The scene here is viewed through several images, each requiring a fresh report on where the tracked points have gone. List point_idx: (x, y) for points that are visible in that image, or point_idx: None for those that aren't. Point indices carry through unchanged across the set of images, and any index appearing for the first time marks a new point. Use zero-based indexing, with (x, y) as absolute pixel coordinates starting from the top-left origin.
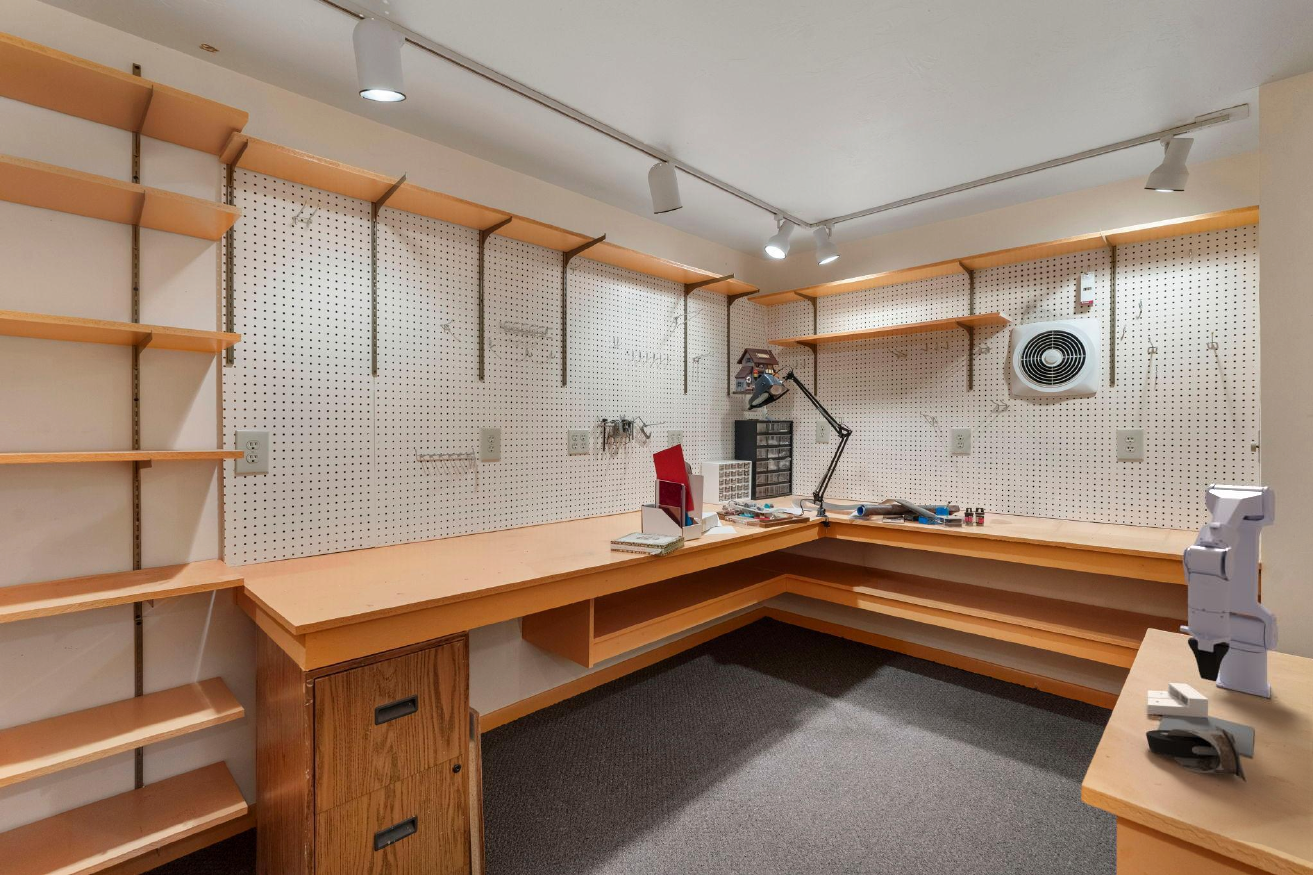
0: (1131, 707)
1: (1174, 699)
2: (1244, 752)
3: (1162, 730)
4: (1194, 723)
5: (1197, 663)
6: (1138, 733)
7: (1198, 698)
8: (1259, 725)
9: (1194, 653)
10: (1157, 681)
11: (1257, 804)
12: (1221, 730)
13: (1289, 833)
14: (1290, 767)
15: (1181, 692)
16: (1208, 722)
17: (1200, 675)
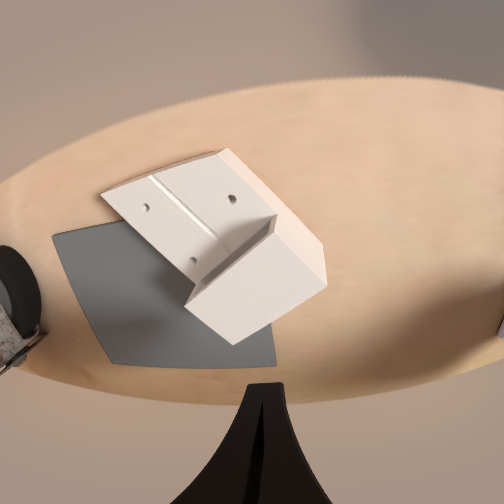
0: (138, 130)
1: (216, 244)
2: (113, 356)
3: (3, 270)
4: (165, 284)
5: (224, 440)
6: (19, 212)
7: (210, 326)
8: (319, 363)
9: (187, 488)
10: (486, 137)
11: None
12: (4, 370)
13: None
14: (141, 391)
15: (212, 283)
16: None
17: (246, 392)
